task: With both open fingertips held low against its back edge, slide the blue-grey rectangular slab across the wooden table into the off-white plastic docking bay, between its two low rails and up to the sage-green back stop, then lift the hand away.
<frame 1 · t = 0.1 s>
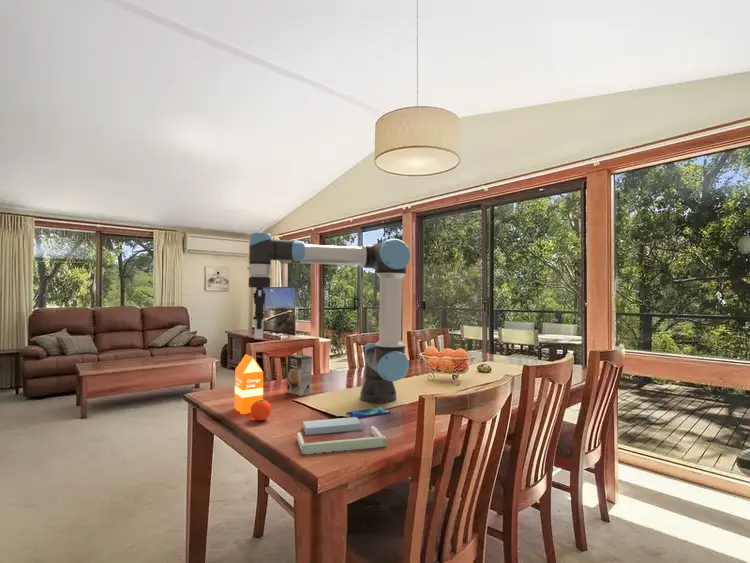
hand: (258, 336, 147), 28 cm above the table, tool pointing down, fingers open, 13 cm apart
coffee box: (298, 393, 180), on the table
smartphone: (368, 415, 151), on the table
docking bay: (340, 442, 122), on the table
blue-grey rectangular slab: (332, 430, 134), on the table
orange juice: (248, 410, 154), on the table
clementine: (260, 420, 142), on the table
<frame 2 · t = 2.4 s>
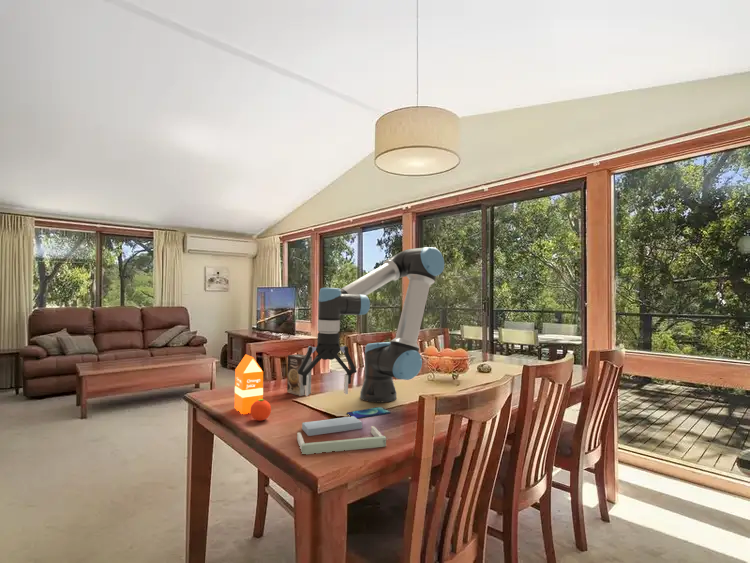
hand: (326, 394, 143), 9 cm above the table, tool pointing down, fingers open, 13 cm apart
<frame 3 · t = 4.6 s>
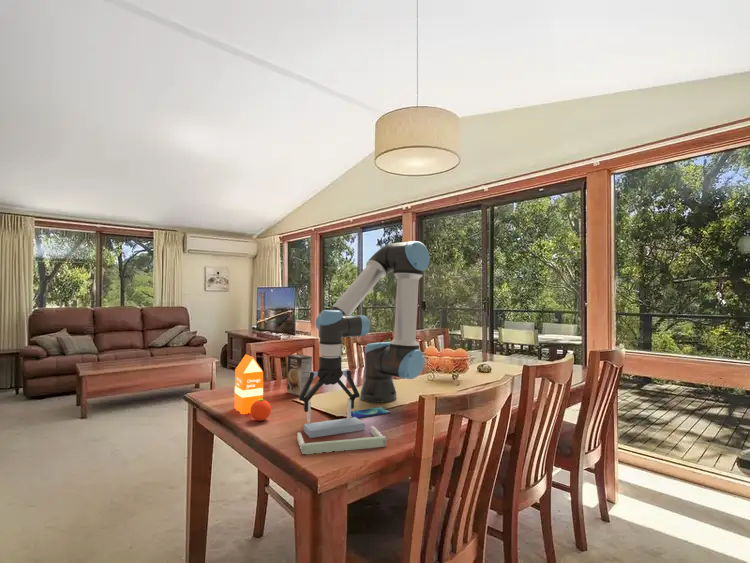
hand: (329, 420, 139), 1 cm above the table, tool pointing down, fingers open, 13 cm apart
blue-grey rectangular slab: (334, 431, 133), on the table, touching gripper
everything else where it was.
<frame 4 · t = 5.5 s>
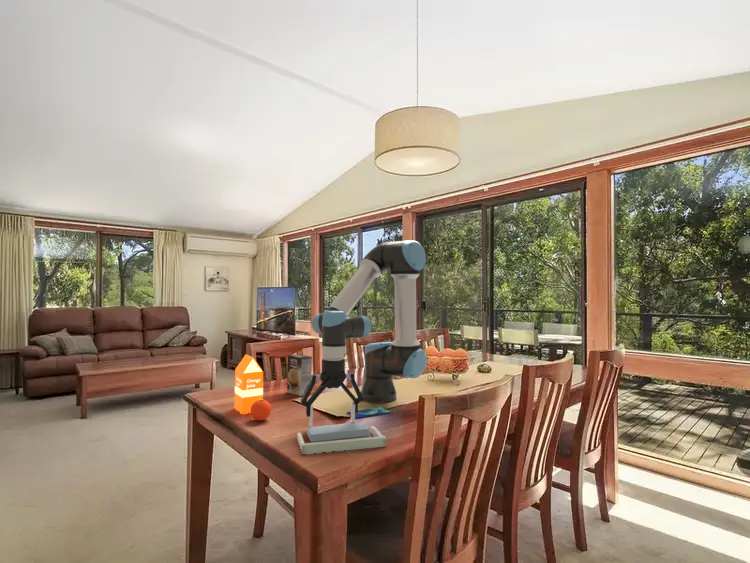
hand: (332, 425, 134), 1 cm above the table, tool pointing down, fingers open, 13 cm apart
blue-grey rectangular slab: (337, 436, 129), on the table, touching gripper
everything else where it was.
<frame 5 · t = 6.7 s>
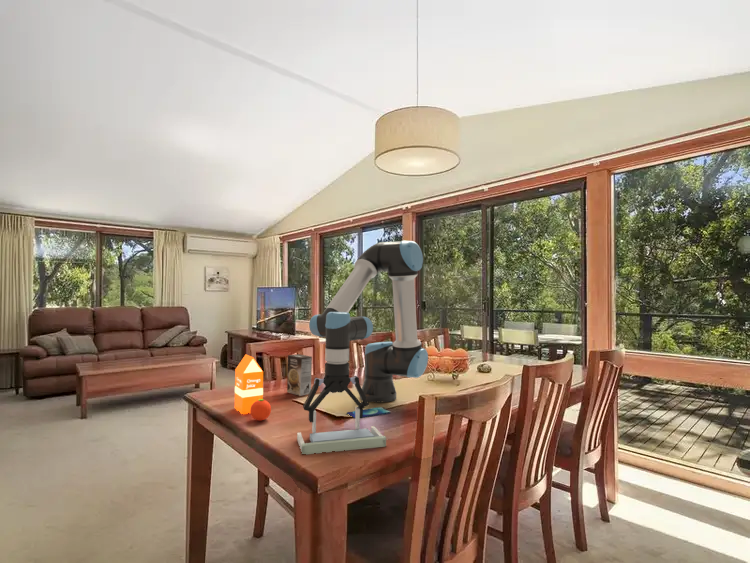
hand: (335, 430, 128), 1 cm above the table, tool pointing down, fingers open, 13 cm apart
blue-grey rectangular slab: (341, 443, 124), on the table
everything else where it was.
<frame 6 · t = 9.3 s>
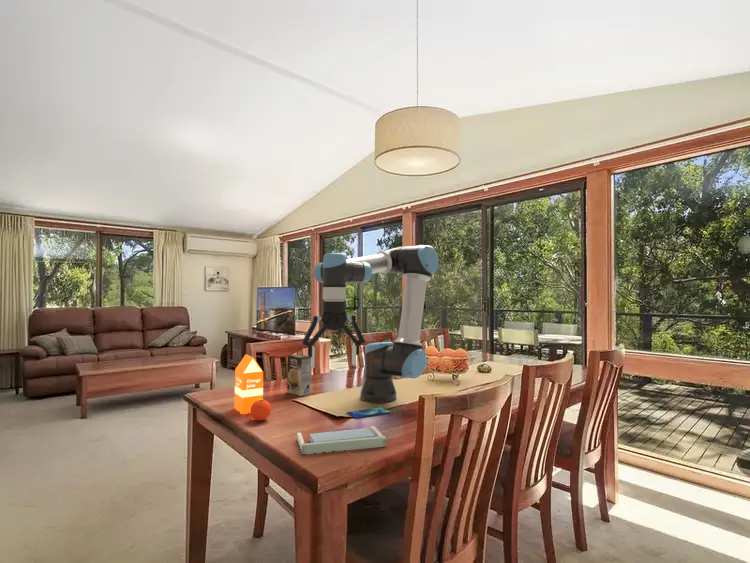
hand: (333, 366, 135), 20 cm above the table, tool pointing down, fingers open, 13 cm apart
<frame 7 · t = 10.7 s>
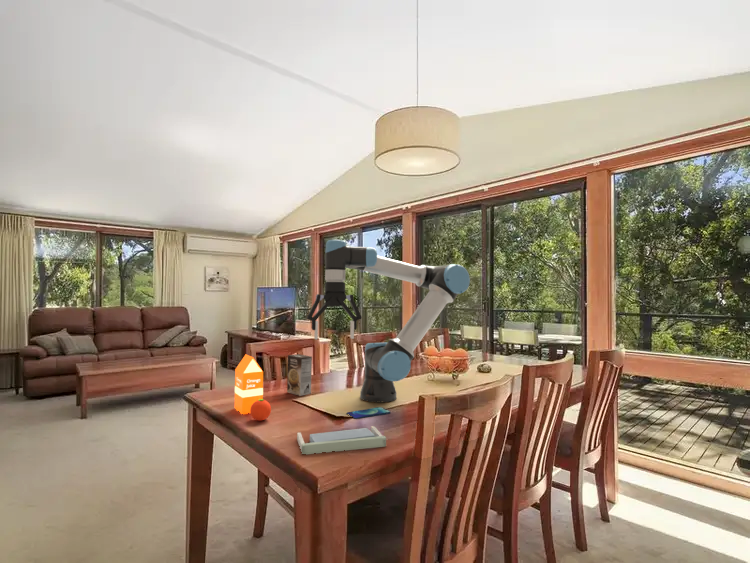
hand: (334, 338, 154), 27 cm above the table, tool pointing down, fingers open, 13 cm apart
nothing on the table moved.
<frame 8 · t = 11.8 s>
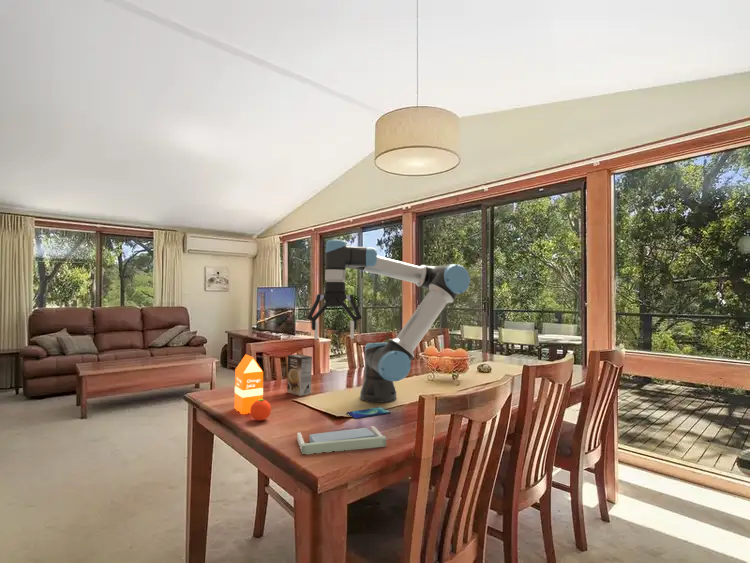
hand: (334, 338, 154), 27 cm above the table, tool pointing down, fingers open, 13 cm apart
nothing on the table moved.
at the end: blue-grey rectangular slab inside the target area (0.7 cm from its centre), on the table; blue-grey rectangular slab tilted 0°; blue-grey rectangular slab moved 12.1 cm from its start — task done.
